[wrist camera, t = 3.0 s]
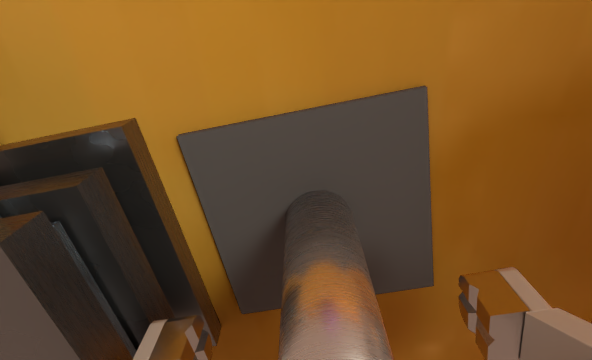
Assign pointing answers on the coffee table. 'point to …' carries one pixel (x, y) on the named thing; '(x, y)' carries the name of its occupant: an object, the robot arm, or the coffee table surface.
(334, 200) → the steel pin
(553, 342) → the robot arm
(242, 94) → the coffee table surface
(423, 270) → the rubber mat
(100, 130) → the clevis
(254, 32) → the coffee table surface
